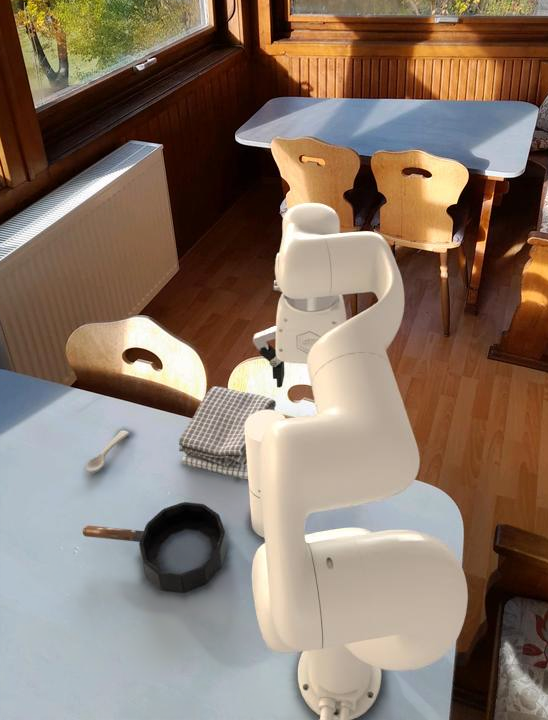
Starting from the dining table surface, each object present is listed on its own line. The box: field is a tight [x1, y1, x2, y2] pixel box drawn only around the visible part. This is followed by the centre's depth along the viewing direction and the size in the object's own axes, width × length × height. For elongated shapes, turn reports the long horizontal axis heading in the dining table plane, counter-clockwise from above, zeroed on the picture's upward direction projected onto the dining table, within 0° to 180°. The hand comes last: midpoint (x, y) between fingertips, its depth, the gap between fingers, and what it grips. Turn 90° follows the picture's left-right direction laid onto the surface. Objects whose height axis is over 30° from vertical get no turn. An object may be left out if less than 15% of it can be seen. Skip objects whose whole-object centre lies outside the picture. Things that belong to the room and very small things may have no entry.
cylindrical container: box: [244, 409, 286, 539], centre depth 117 cm, size 7×7×25 cm
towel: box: [178, 385, 277, 480], centre depth 137 cm, size 15×18×8 cm
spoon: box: [85, 429, 130, 474], centre depth 136 cm, size 3×12×2 cm, turn 159°
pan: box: [82, 501, 228, 594], centre depth 117 cm, size 14×25×4 cm, turn 84°
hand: (312, 383), depth 100 cm, fingers open, 9 cm apart
